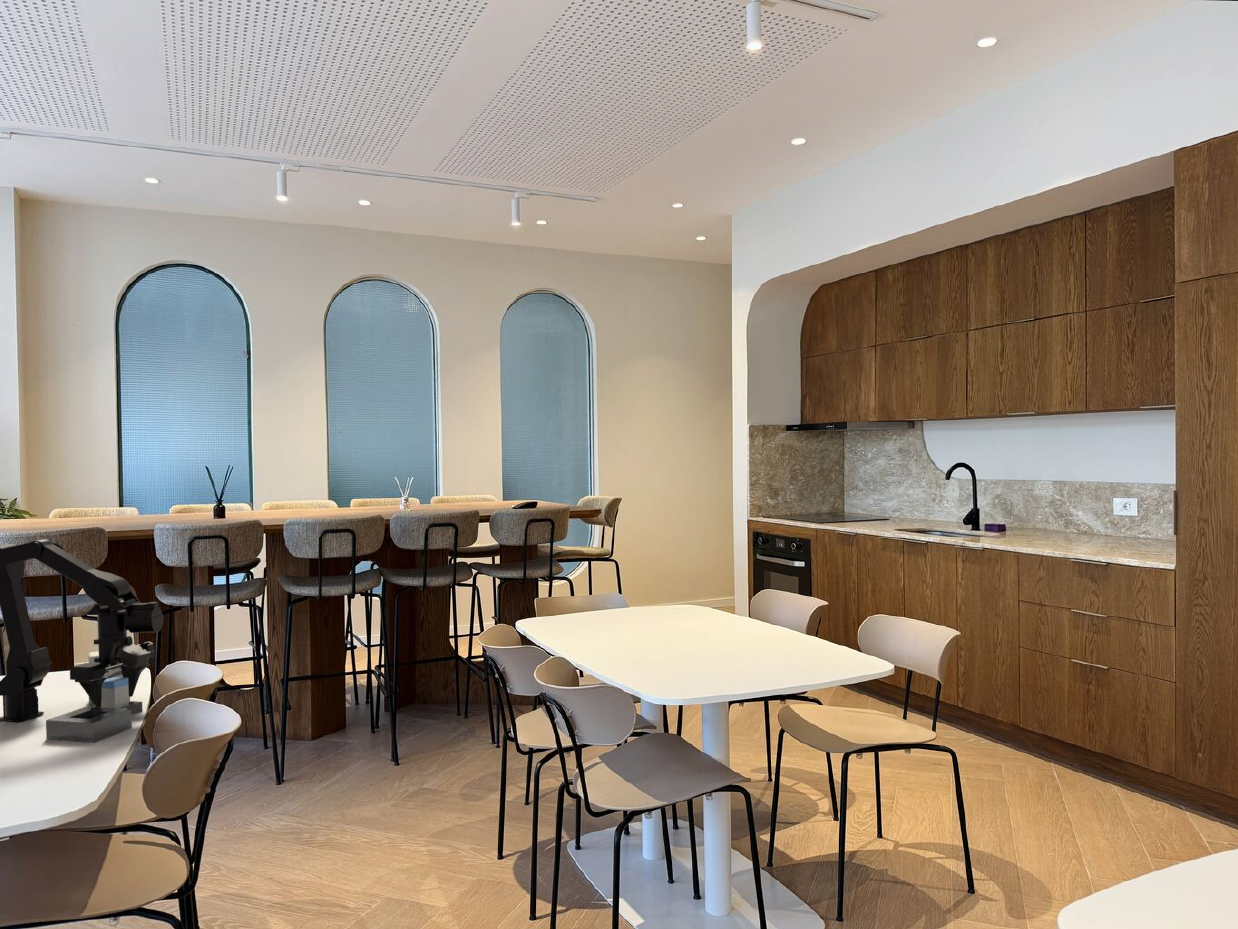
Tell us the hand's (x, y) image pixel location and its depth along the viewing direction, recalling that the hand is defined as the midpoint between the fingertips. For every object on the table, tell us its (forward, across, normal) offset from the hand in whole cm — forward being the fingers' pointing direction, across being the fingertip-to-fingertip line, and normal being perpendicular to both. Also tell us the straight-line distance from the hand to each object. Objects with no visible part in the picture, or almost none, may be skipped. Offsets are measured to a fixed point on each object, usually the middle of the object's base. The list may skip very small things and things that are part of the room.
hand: (114, 702), depth 203 cm
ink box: (+3, +10, +11) cm, 15 cm away
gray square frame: (+3, 0, 0) cm, 3 cm away
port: (+3, -13, -6) cm, 15 cm away
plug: (+3, 0, 0) cm, 3 cm away
